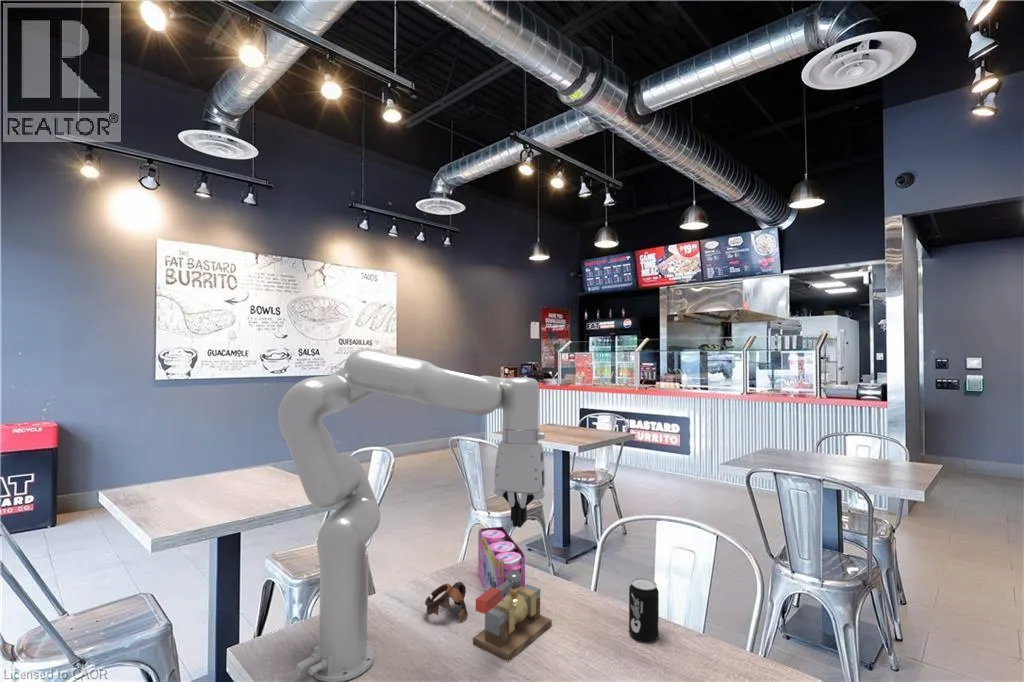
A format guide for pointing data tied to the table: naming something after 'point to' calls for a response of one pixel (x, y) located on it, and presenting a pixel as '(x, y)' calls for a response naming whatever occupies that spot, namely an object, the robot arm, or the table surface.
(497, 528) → the gum box
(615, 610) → the table surface
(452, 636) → the table surface
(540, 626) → the valve board
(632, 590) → the beverage can
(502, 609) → the ball valve
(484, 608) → the lever
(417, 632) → the table surface
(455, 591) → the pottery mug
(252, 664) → the table surface
